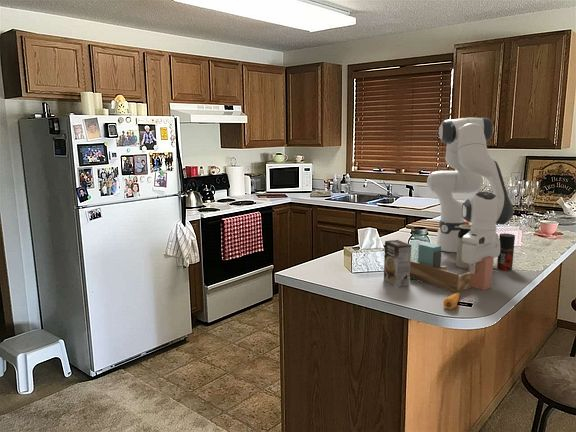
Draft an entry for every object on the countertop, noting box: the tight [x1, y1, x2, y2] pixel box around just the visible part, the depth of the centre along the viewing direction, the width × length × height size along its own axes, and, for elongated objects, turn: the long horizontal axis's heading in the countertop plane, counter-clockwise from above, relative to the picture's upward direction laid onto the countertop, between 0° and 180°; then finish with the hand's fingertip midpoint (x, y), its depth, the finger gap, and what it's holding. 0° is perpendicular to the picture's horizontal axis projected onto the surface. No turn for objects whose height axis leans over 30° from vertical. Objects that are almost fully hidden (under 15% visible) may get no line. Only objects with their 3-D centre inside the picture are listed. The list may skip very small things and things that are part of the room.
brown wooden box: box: [409, 260, 471, 294], centre depth 183 cm, size 9×22×7 cm, turn 36°
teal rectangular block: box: [417, 242, 442, 268], centre depth 187 cm, size 5×8×12 cm, turn 36°
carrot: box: [443, 291, 461, 311], centre depth 164 cm, size 20×4×4 cm, turn 149°
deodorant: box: [496, 232, 516, 272], centre depth 199 cm, size 6×6×15 cm
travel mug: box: [455, 224, 472, 270], centre depth 202 cm, size 8×8×18 cm
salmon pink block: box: [466, 256, 495, 291], centre depth 178 cm, size 5×8×12 cm, turn 36°
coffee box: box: [383, 239, 412, 287], centre depth 183 cm, size 9×6×16 cm
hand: (480, 271), depth 178 cm, fingers open, 8 cm apart
